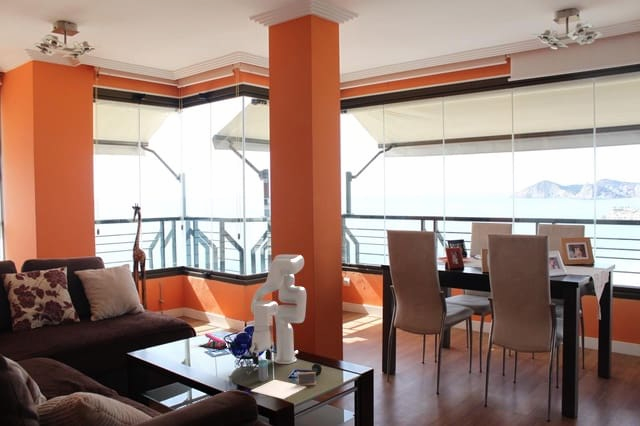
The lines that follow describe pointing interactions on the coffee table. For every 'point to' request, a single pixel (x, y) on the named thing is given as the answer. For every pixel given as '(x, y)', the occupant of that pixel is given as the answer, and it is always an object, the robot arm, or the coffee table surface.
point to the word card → (306, 378)
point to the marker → (262, 370)
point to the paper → (278, 389)
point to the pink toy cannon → (214, 343)
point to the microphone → (316, 368)
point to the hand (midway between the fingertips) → (262, 361)
